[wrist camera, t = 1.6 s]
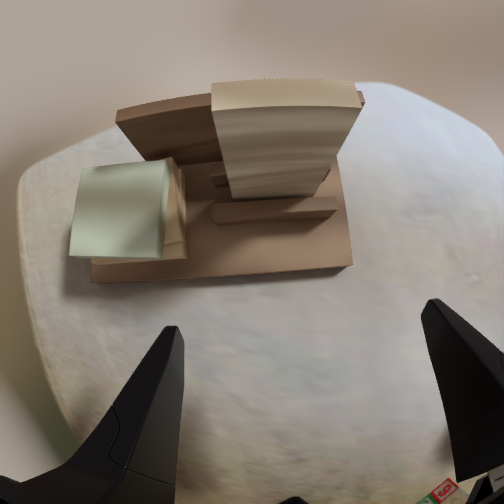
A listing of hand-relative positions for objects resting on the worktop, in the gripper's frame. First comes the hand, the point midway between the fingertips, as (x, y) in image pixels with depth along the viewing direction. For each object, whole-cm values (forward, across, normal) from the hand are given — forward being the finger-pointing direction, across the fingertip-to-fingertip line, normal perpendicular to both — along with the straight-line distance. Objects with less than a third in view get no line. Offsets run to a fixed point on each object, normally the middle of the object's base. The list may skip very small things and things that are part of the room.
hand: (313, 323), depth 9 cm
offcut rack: (+15, +5, +5) cm, 17 cm away
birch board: (+15, 0, +3) cm, 15 cm away
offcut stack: (+14, +11, +4) cm, 18 cm away
